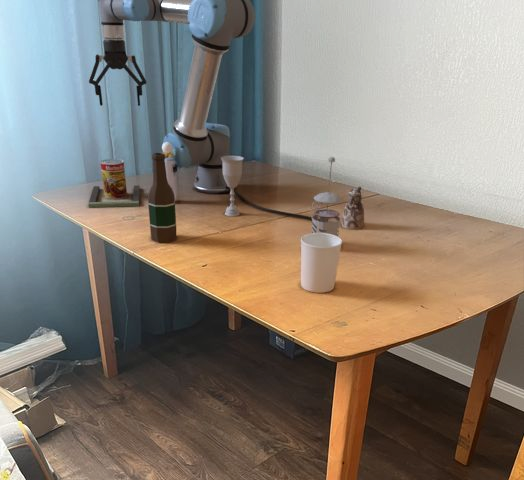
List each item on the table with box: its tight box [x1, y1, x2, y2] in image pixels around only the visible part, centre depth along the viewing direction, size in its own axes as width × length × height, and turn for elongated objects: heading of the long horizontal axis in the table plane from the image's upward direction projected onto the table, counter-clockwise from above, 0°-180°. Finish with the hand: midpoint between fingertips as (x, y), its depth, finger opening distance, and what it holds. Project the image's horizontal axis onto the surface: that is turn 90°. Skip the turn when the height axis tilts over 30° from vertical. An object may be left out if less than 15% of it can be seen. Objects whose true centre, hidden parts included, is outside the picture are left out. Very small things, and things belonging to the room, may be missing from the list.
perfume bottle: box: [161, 142, 178, 202], centre depth 187 cm, size 6×6×20 cm
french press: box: [310, 156, 343, 237], centre depth 154 cm, size 10×12×25 cm
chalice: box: [221, 155, 244, 217], centre depth 178 cm, size 7×7×18 cm
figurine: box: [340, 186, 365, 230], centre depth 173 cm, size 7×7×12 cm
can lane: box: [88, 184, 141, 208], centre depth 194 cm, size 22×16×1 cm
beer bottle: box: [147, 152, 177, 244], centre depth 155 cm, size 8×8×24 cm
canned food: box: [99, 158, 128, 200], centre depth 193 cm, size 8×8×12 cm
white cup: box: [300, 232, 343, 294], centre depth 133 cm, size 10×10×12 cm
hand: (120, 105), depth 203 cm, fingers open, 13 cm apart
